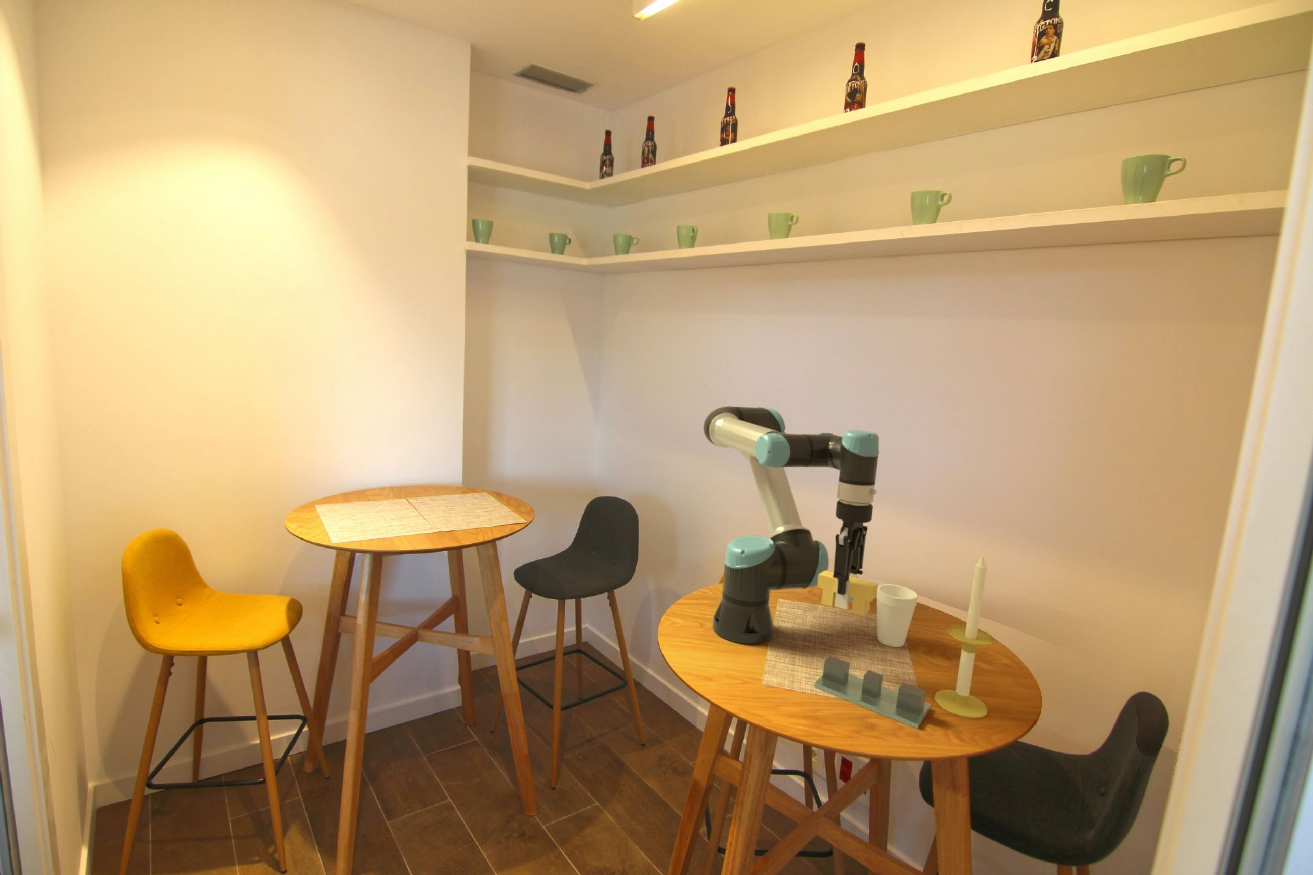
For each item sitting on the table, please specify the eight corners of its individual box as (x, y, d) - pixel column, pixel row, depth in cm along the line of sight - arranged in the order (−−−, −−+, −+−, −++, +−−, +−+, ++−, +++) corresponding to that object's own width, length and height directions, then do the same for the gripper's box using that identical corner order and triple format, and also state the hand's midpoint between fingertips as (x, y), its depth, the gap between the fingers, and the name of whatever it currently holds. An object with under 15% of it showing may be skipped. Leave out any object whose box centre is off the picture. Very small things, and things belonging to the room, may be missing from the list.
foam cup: (914, 652, 149) (920, 601, 147) (874, 646, 151) (880, 596, 149) (906, 635, 158) (912, 587, 156) (868, 629, 160) (874, 582, 158)
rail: (814, 686, 130) (816, 664, 130) (830, 670, 137) (832, 649, 137) (917, 728, 118) (920, 704, 117) (929, 708, 125) (932, 685, 124)
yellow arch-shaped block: (815, 602, 139) (818, 574, 138) (822, 597, 142) (825, 570, 141) (868, 617, 132) (871, 588, 131) (874, 612, 135) (877, 583, 134)
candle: (963, 722, 121) (987, 564, 116) (923, 695, 130) (944, 547, 125) (999, 713, 125) (1023, 560, 120) (957, 687, 134) (978, 544, 129)
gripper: (858, 511, 125) (847, 620, 128) (884, 499, 139) (874, 598, 141) (823, 504, 129) (813, 610, 132) (851, 493, 143) (842, 590, 146)
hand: (845, 604), depth 137 cm, fingers closed on yellow arch-shaped block, 4 cm apart
